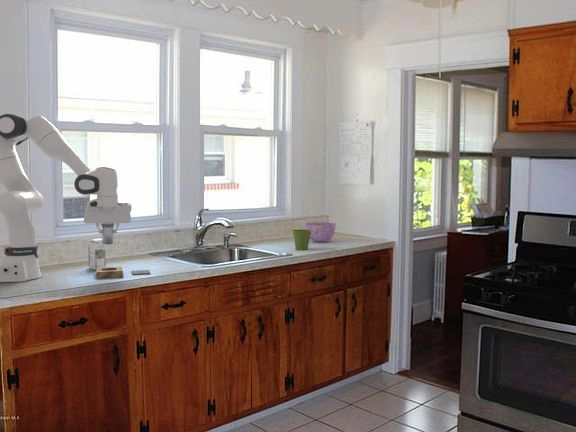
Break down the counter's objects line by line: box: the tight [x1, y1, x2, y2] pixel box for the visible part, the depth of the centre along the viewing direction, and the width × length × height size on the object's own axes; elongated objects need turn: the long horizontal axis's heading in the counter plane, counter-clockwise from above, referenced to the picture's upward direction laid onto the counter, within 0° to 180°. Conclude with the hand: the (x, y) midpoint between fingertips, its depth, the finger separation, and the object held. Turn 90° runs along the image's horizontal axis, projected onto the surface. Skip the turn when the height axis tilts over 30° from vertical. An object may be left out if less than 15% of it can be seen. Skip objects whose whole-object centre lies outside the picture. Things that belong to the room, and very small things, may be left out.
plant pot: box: [291, 228, 312, 251], centre depth 345 cm, size 12×12×11 cm
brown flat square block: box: [95, 266, 124, 280], centre depth 265 cm, size 11×11×3 cm
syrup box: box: [88, 237, 107, 271], centre depth 282 cm, size 6×6×14 cm
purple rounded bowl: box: [305, 221, 337, 243], centre depth 378 cm, size 20×20×12 cm
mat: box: [131, 269, 151, 276], centre depth 272 cm, size 8×8×1 cm
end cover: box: [100, 223, 115, 245], centre depth 263 cm, size 6×6×9 cm
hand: (107, 233), depth 263 cm, fingers closed on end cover, 5 cm apart
